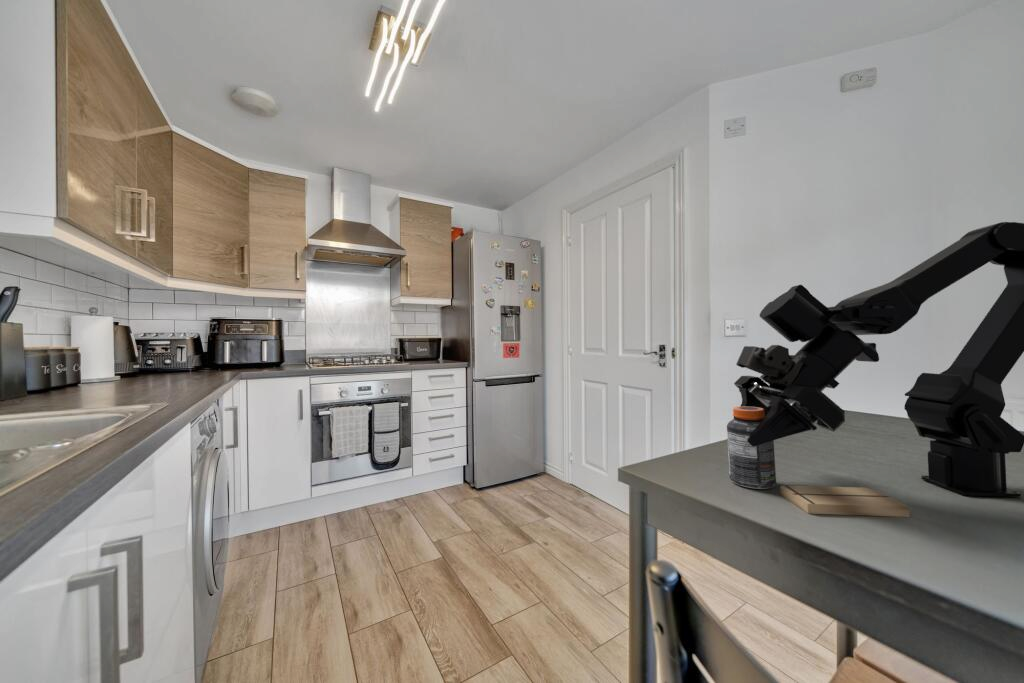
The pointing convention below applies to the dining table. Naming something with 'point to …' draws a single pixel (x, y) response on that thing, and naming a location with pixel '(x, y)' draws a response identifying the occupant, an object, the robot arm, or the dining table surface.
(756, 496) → the dining table surface
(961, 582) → the dining table surface
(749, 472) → the pill bottle
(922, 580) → the dining table surface
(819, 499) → the oak board
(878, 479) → the dining table surface
